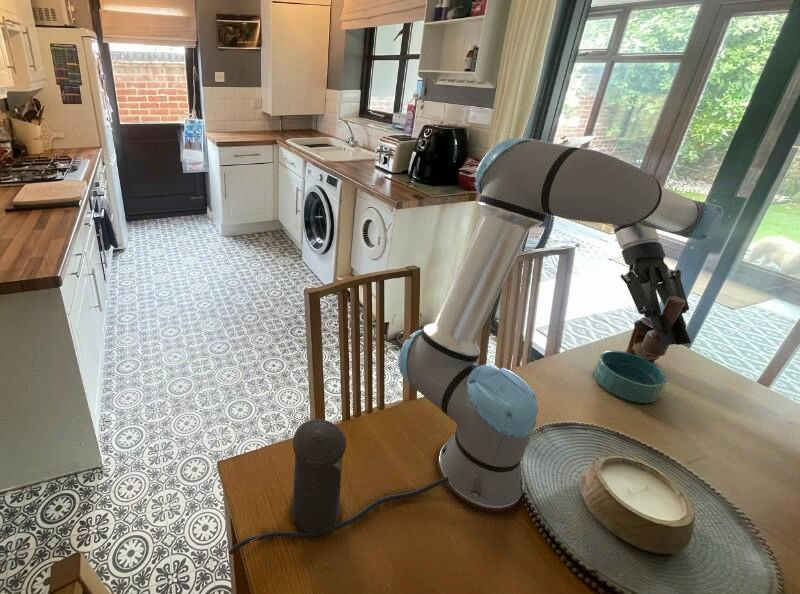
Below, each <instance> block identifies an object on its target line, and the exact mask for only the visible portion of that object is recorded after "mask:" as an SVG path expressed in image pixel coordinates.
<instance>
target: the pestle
mask: <svg viewBox="0 0 800 594" xmlns="http://www.w3.org/2000/svg"><path fill="white" fill-rule="evenodd" d="M685 302H686V301H685V300H684V299H682V298H680V297H676V296H670V297H669V298H668V300H667V302H666V305H665V306H664V307H663V309H662V310H661V314H660V315H666V317H667V320H668V323H669V325H670V328H671V330H672V328H673V326H674V324H675V322H676V320H677V318H678V316H679V314H680V312H681V310H682V308H683V306H684V304H685ZM641 347H642V349H643V350H645V351H646V352H648V353H650V354H653V355H657V356H660V357H664V356H665V355H666V354H667V352H668V349H669V348H670V345H665V346H662V345H661V342H660V339H659V336H658V333H657V331H656V330H655V329H654V330H653V331H648V332H647V334H646V336H645V339H644V341H643V343H642V345H641Z"/></svg>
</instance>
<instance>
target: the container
mask: <svg viewBox="0 0 800 594" xmlns="http://www.w3.org/2000/svg"><path fill="white" fill-rule="evenodd" d="M292 448H293V452H294V467H293V470H294V472H293V491H292V507H291V508H292V509H291V510H292V511H291V512H292V515H291V516H292V519H293V522H294V524H295V526H296V527H297V528H298V530H300V532H304V531H305V532H309V533H312V534H314V535H312V537H313V536H314V537H315V536H316V537H318V536H323V535H325V534H327V533H328V532H327V531H328V530H329V529H330V528H331V527H333V526H334V525H335V524H337V522H338V519H339V513H340V500H341V485H342V484H341V482H342V468H343V457H344V454H345V452H346V449H347V439H346V436H345V433H344V432H343V430H342V429H341V428H340V427H339V426H338V425H337V424H335V423H334V422H331V421H330V420H326V419H320V418H317V419H316V418H315V419H310V420H306V421H304V422H303V423H301V424H300V425H299V426H298V427H297V428H296V430H295V432H294V434H293V437H292Z"/></svg>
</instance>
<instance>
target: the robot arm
mask: <svg viewBox="0 0 800 594" xmlns="http://www.w3.org/2000/svg"><path fill="white" fill-rule="evenodd" d="M474 179H475V181H474V187H475V190H476V192H477V193H478V194H479V195H480V197H479V199H478V200H477V206H478V208H479V210H480V212H481V215H480V217H479V219H478V222H477V224H476V226H475V229H474V231H473V233H472V236H471V238H470V240H469V242H468V245H467V247H466V249H465V252H464V253H463V256H462V258H461V260H460V262H459V265H458V267H457V269H456V272H455V274H454V277H453V278H452V280H451V283H450V285H449V287H448V290H447V293H446V295H445V297H444V299H443V301H442V304H441V306H440V308H439V311H438V313H437V315H436V317H435V319H434V321H433V322H432V323H428V324H425V325H423V329H419V330H416V331H414V332H413V333H412V334H410V335H409V338H408V339H405V341H404V343H403V344H402V346H401V349H400V352H399V355H398V370H399V372H400V375H401V376H402V378H403V379H404V380H405V381H407V382H408V383H409V385H410V386H411V387H412V388H413V389H414V390H415V391H417V392H418V393H419V394H421V395H422V396H423V397H425V398H426V399H427V400H428V401H430V402H431V403H432V404H433V405H434V406H435V407H436V408H438V409H439V410H440V411H441V412H443V414H445V415H446V416H447V417H448V418H449V419H450V420H452V421H453V422H454V423H455V424H456V429H455V432H454V434H452V435H451V436H450V438H448V440H447V441H446V442H445V443H444V444H443V446H442V447H441V449H440V452H439V457H438V459H437V460H438V461H437V467H438V472H439V475H440V478H441V479H438V480H436V481H433V482H431V483H429V484H427V485H425V486H423V487H421V488H419V489H415V490H412V491H409V492H402V493H396V494H395V493H394V494H390V495H387V496H384V497H381V498H379V499H377V500H375V501H373V502H371V503H370V504H368V505H366V507H364V508H363V509H361V510H360V511H359V512H357V514H355V515H353V516H351V517H350V518H347V519H345V520H343V521H341V522H338V523H336V524H335V525H334V526H333V527H331V528H330V529H329V530H328V531H327V533H330V532H332V531H336V530H338V529H341V528H344V527H346V526H348V525H350V524H352V523H354V522H356V521H358V520H359V519H361V518H362V517H363V516H365V515H366V514H367V513H369V512H370V511H371V510H372V509H374V508H375V507H378V506H379V505H381V504H383V503H386V502H390V501H392V500H398V499H399V500H400V499H405V498H410V497H414V496H418V495H421V494H423V493H425V492H427V491H429V490H432V489H433V488H436V487H438V486H440V485H443V484H444V485H445V486H446V488H447V489H448V490H449V492H451V493H452V494H453V495H454V496H455V497H456V498H457V499H459V500H460V501H461V502H463V503H464V504H466V505H468V506H470V507H472V508H474V509H476V510H478V511H483V512H487V513H493V514H495V513H498V514H499V513H505V512H507V511H510V510H512V509H513V508H514V507H516V506H517V504H518V503H519V501H520V499H521V497H522V494H524V493H525V477H524V476H523V474H522V464H521V461H522V458H523V456H524V454H525V452H526V448H527V446H528V443H529V440H530V438H531V434H532V433H533V432H534V429H535V427H536V424H537V416H538V411H539V403H538V401H537V396H536V394H535V392H534V390H533V389H532V387H531V386H530V385H529V383H527V382H526V381H525V380H524V379H523V378H522V377H521V376H519V375H517V374H516V373H515V372H513V371H511V370H509V369H507V368H504V367H501V368H498V367H497V365H495V364H494V365H493V364H482V365H479V364H477V361H478V359H479V357H480V355H481V349H480V347H479V344H478V342H477V341H478V339H479V337H480V335H481V333H482V330H483V328H484V326H485V324H486V322H487V320H488V318H489V316H490V314H491V311H492V309H493V307H494V305H495V302H497V299H498V296H499V294H500V293H501V290H502V288H503V286H504V284H505V282H506V279H507V277H508V275H509V274H510V272H511V269H512V267H513V265H514V263H515V261H516V259H517V256H518V254H519V252H520V250H521V248H522V246H523V244H524V242H525V240H526V238H527V236H528V233H529V231H530V230H531V229H533V228H536V227H538V226H540V225H542V224H544V221H545V219H546V217H547V215H551V216H553V217H557V218H560V219H561V218H562V219H567V220H573V221H578V222H587V223H588V222H589V223H597V224H606V225H611V226H612V229H613V231H614V234H615V237H616V240H617V243H618V246H619V249H621V255H622V257H623V261H624V263H625V265H627V266H629V268H628V271H627V272H624V273H622V274H620V279H622V281H623V282H624V284H626V287H627V289H628V291H629V294H630V296H631V298H632V301H633V303H634V305H635V308H636V310H637V312H638V314H640V315H643V317H650V319H651V322H652V325H653V328H654V329H655V330H656V331H657V333H658V336H659V339H660V342H661V345H662V346H665V345H669V346H673V345H676V346H680V345H688V344H692V342H691V339H690V336H689V334H688V331H687V324H686V321H685V318H684V316H683V314H686V313H687V312H688V311H689V310H690V305H689V303H688V299H687V295H686V293H685V289H684V286H683V282H682V271H681V270H680V269H671V268H669V266H668V265H667V263H666V262H665V260H664V259H665V258H666V253H665V250H664V247H663V245H662V243H661V242H660V236H659V234H658V232H657V230H659V231H662V232H665V233H669V234H673V235H676V236H679V237H683V238H686V239H692V240H697V241H706V240H708V239H710V238H711V237H712V236H713V234H715V232H716V231H717V229H718V228H719V226H720V224H721V223H722V220H723V218H724V213H725V211H724V208H723V207H722V206H720V205H717V204H714V203H709V202H708V201H700V200H695V199H692V198H689V197H687V196H685V195H682V194H680V193H678V192H675V191H673V190H672V189H669V188H666V187H664V186H662V184H661V183H660V181H659V180H658V179H657V177H655V175H653V174H652V173H650V172H649V171H646V170H644V169H642V168H640V167H638V166H636V165H634V164H632V163H629V162H628V161H626V160H624V159H621V158H618V157H617V156H614V155H611V154H609V153H607V152H606V153H605V152H603V151H600V150H596V149H592V148H586V147H577V146H572V145H567V144H561V143H557V142H556V143H555V142H549V141H543V140H539V139H532V138H517V137H516V138H514V137H513V138H511V137H510V138H507V139H504V140H501V141H500V142H498V143H497V144H495V145H493V146H492V147H491V148H490V149H489V150H488V151H487V152H486V154H485V155H484V156H483V158H482V159H481V160H480V163H479V164H478V167H477V169H476V171H475V176H474ZM658 296H659V298H660V300H661V302H662V305H663V306H664V307H665V305H666V302H667V300H668V298H669V297H670V296H676V297H680V298H682V299H684V300H685V301H686V302H685V304H684V306H683V308H682V310H681V312H680V314H679V316H678V318H677V320H676V322H675V324H674V326H673V328H672V330H671V328H670V325H669V323H668V320H667V317H666V315H661V313H662V310H661V306H660V301H659V298H658ZM256 535H257V536H256ZM256 535H253V536H248V537H247V538H244V539H242V540H241V541H239V542H238V543H236V544H235V545H234V546H232V548H231V549H230V550H229V551H228V554H229V555H233V554H235V552H237V551H238V550H239V549H241V548H242V547H244V546H246V545H248V544H250V543H253V542H256V541H261V540H264V539H269V538H276V537H277V538H278V537H288V538H289V537H291V538H299V537H300V538H304V537H313V535H314V534H312V533H309V532H305V531H304V532H302V531H289V530H288V531H285V530H283V531H282V530H281V531H279V530H278V531H270V532H265V533H260V534H256ZM258 535H260V537H259V536H258ZM261 535H262V536H261ZM257 537H258V539H256V538H257ZM254 539H256V540H254ZM251 540H254V541H252V542H250V541H251ZM249 542H250V543H249Z"/></svg>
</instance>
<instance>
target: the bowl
mask: <svg viewBox="0 0 800 594" xmlns="http://www.w3.org/2000/svg"><path fill="white" fill-rule="evenodd" d="M593 375H594V376H593V377H594V379H595V381H596V382H597V383H598V384H599V386H601V387H602V388H603V389H604V390H606V391H607V392H608V393H610V394H612V395H614V396H615V397H618V398H620V399H622V400H625V401H628V402H633V403H639V404H650V403H655V402H656V401H657V400H658V399H659V397H660V396H661V394H662V392H663V390H664V388H665V386H666V384H667V382H668V379H667V378H668V377H667V376H666V374H665V372H664V371H663V370H662V369H660V367H659V366H657V365H656V364H655V363H654V364H653V363H651V362H649V361H648V360H646V359H643V358H641V357H639V356H636V355H633V354H630V353H626V351H621V350H607V351H604V352H602V353H601V354H600V355H599V358H598V360H597V363H596V365H595V368H594V370H593Z"/></svg>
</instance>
